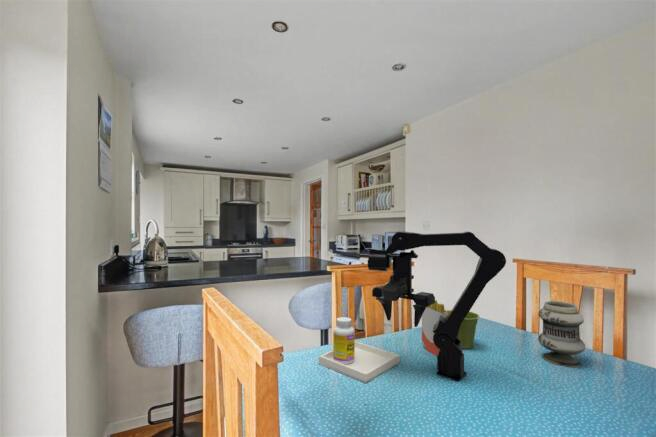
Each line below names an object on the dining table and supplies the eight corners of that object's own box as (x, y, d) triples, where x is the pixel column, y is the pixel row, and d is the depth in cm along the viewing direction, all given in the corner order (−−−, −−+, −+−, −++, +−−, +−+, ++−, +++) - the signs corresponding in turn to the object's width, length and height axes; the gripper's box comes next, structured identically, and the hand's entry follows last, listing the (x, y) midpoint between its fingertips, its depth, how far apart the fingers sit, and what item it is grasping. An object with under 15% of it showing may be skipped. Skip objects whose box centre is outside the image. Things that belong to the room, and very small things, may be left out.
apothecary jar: (543, 364, 97) (542, 306, 98) (534, 350, 108) (533, 298, 109) (592, 371, 92) (590, 310, 93) (577, 356, 104) (576, 301, 104)
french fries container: (432, 345, 112) (432, 295, 113) (453, 357, 102) (452, 302, 103) (421, 347, 111) (421, 296, 112) (441, 359, 101) (440, 303, 101)
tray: (399, 362, 98) (399, 354, 98) (366, 383, 85) (366, 374, 85) (354, 347, 110) (354, 340, 110) (318, 363, 97) (318, 356, 97)
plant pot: (448, 337, 121) (448, 308, 121) (482, 344, 114) (482, 313, 114) (439, 347, 111) (439, 315, 112) (476, 355, 104) (475, 320, 105)
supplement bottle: (347, 366, 94) (347, 323, 94) (329, 361, 97) (329, 319, 98) (358, 359, 99) (358, 318, 100) (340, 354, 103) (340, 315, 103)
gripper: (361, 271, 97) (361, 322, 96) (418, 278, 84) (418, 337, 83) (381, 268, 105) (381, 315, 104) (435, 274, 92) (435, 328, 92)
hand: (402, 323), depth 96 cm, fingers open, 9 cm apart
